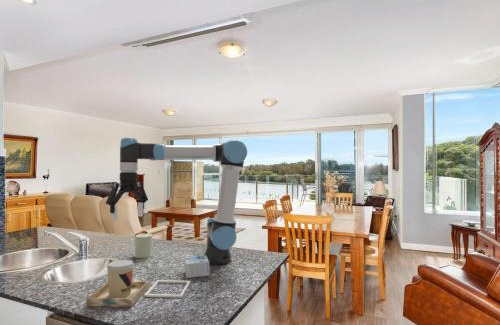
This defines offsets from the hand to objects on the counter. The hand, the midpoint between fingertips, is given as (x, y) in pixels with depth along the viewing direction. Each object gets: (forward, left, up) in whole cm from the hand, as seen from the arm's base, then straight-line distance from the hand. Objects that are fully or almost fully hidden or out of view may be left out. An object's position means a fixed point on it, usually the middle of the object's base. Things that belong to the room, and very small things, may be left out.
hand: (127, 218), depth 130 cm
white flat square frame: (-23, +12, -27) cm, 37 cm away
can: (+5, -32, -27) cm, 42 cm away
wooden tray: (-6, +19, -27) cm, 33 cm away
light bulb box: (-25, -5, -23) cm, 35 cm away
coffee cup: (-6, +19, -26) cm, 33 cm away
